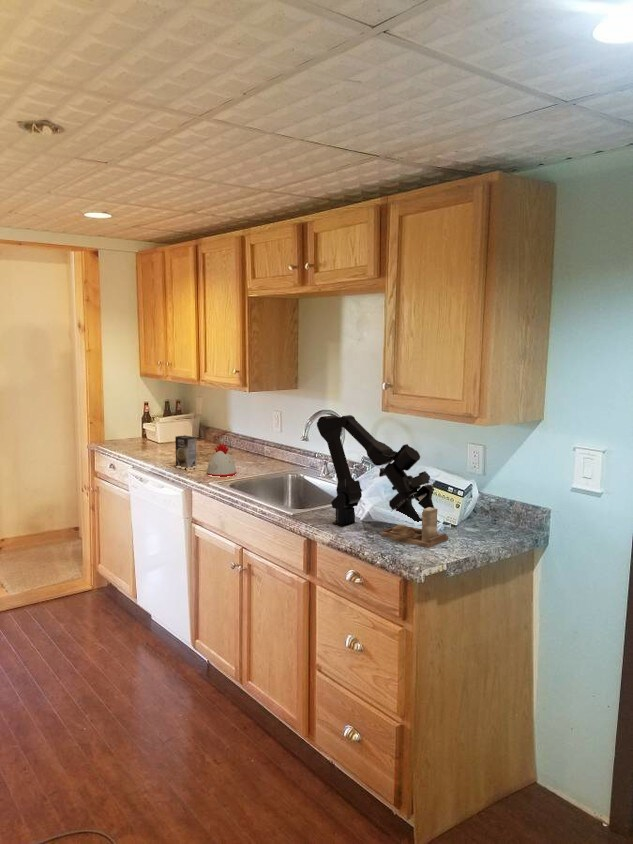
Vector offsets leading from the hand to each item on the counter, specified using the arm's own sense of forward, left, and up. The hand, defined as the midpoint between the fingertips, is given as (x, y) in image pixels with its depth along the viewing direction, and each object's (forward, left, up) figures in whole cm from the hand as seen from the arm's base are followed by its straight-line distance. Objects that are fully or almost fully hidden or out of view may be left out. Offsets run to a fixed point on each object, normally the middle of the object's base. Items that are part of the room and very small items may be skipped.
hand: (427, 518), depth 206 cm
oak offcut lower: (-9, -1, -7) cm, 12 cm away
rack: (-5, 0, -9) cm, 10 cm away
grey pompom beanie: (-132, +13, -9) cm, 133 cm away
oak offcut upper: (-9, -1, -6) cm, 11 cm away
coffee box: (-157, +9, -9) cm, 157 cm away
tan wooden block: (+1, 0, -7) cm, 7 cm away
